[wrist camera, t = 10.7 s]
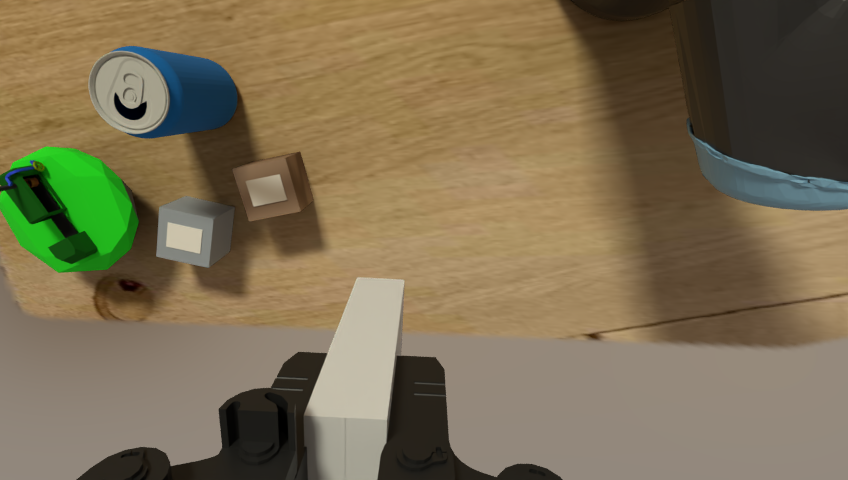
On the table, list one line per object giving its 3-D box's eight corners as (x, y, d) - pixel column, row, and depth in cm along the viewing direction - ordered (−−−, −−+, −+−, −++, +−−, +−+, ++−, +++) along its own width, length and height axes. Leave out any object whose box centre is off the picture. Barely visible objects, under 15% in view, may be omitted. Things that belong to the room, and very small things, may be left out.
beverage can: (169, 118, 44) (79, 125, 33) (177, 49, 42) (84, 31, 31) (235, 137, 45) (169, 150, 33) (245, 69, 43) (179, 59, 31)
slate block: (186, 195, 47) (158, 207, 42) (235, 206, 47) (213, 219, 42) (183, 240, 48) (155, 256, 43) (230, 251, 48) (208, 268, 44)
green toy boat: (23, 174, 46) (-98, 197, 36) (115, 123, 44) (16, 131, 34) (96, 274, 49) (4, 321, 39) (185, 230, 48) (113, 267, 37)
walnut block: (252, 161, 46) (231, 169, 41) (300, 151, 45) (284, 157, 40) (267, 209, 47) (248, 222, 42) (313, 199, 47) (300, 211, 42)
